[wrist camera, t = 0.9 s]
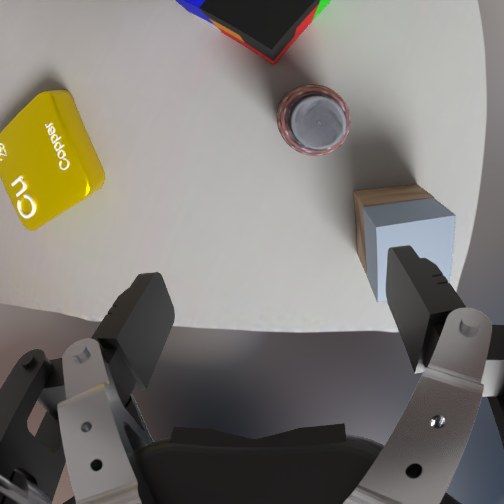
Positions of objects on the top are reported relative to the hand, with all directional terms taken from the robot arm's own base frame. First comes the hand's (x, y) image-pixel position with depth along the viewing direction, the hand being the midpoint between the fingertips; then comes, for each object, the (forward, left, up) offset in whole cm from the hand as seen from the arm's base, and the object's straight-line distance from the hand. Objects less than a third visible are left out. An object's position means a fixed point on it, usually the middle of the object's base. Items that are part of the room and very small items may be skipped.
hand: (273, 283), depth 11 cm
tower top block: (+9, +12, -20) cm, 25 cm away
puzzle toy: (-17, +2, -25) cm, 30 cm away
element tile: (-7, -30, -25) cm, 39 cm away
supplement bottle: (-4, +4, -25) cm, 25 cm away
